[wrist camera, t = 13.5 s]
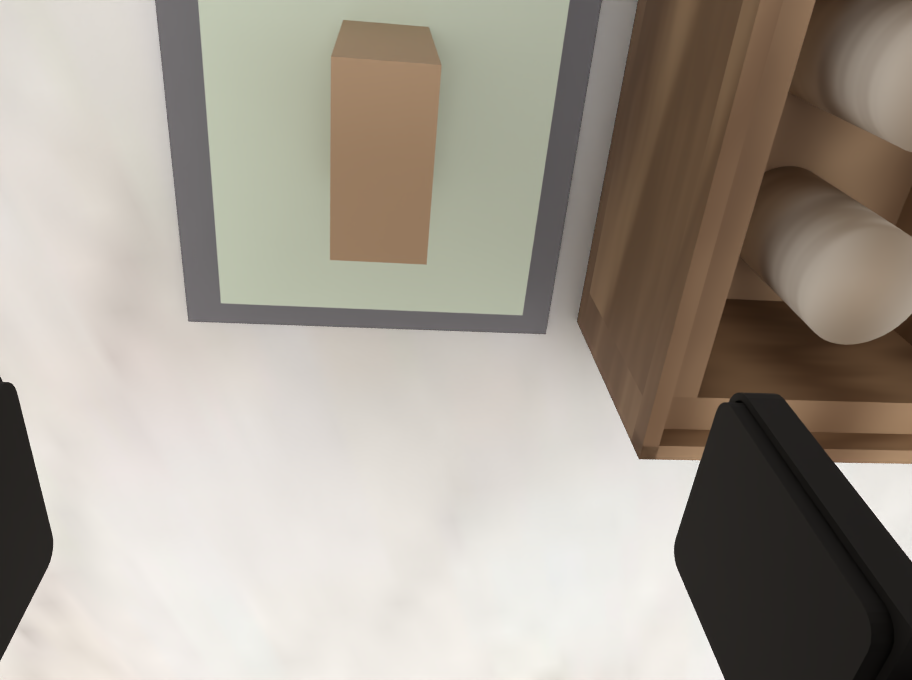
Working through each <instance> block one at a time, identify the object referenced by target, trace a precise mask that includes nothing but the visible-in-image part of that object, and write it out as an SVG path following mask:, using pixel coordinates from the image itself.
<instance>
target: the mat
mask: <svg viewBox="0 0 912 680" xmlns="http://www.w3.org/2000/svg"><path fill="white" fill-rule="evenodd" d="M155 2H156V12H157V22H158V31H159V41H160V51H161V60H162V70H163V80H164V90H165V99H166V109H167V119H168V128H169V138H170V148H171V157H172V167H173V177H174V186H175V196H176V206H177V215H178V225H179V235H180V244H181V254H182V264H183V273H184V283H185V293H186V302H187V312H188V321H191V322H219V323H247V324H276V325H304V326H332V327H360V328H388V329H416V330H444V331H472V332H500V333H528V334H546V329H547V323H548V317H549V311H550V305H551V299H552V293H553V287H554V281H555V275H556V269H557V263H558V257H559V251H560V245H561V240H562V234H563V228H564V222H565V216H566V210H567V204H568V198H569V192H570V186H571V180H572V174H573V168H574V162H575V156H576V150H577V144H578V138H579V132H580V127H581V121H582V115H583V109H584V103H585V97H586V91H587V85H588V79H589V73H590V67H591V61H592V55H593V49H594V43H595V37H596V31H597V25H598V19H599V13H600V8H601V2H602V0H570V2H569V9H568V16H567V22H566V29H565V36H564V42H563V49H562V56H561V62H560V69H559V76H558V82H557V89H556V96H555V102H554V109H553V116H552V122H551V129H550V136H549V142H548V149H547V155H546V162H545V169H544V175H543V182H542V189H541V195H540V202H539V209H538V215H537V222H536V229H535V235H534V242H533V249H532V255H531V262H530V269H529V275H528V282H527V289H526V295H525V302H524V309H523V315H501V314H476V313H451V312H426V311H401V310H376V309H351V308H326V307H300V306H275V305H250V304H225V303H221V297H220V284H219V271H218V258H217V245H216V231H215V218H214V205H213V192H212V179H211V165H210V152H209V139H208V126H207V113H206V99H205V86H204V73H203V60H202V47H201V33H200V20H199V7H198V0H155Z"/></svg>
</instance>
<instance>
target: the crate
mask: <svg viewBox="0 0 912 680" xmlns="http://www.w3.org/2000/svg"><path fill="white" fill-rule="evenodd" d="M577 323H578V325H579V327H580V329H581V331H582V334H583V336H584V338H585V340H586V343H587V345H588V347H589V349H590V351H591V354H592V356H593V358H594V360H595V363H596V365H597V367H598V369H599V371H600V374H601V376H602V378H603V380H604V383H605V385H606V387H607V389H608V391H609V394H610V396H611V398H612V400H613V402H614V405H615V407H616V409H617V411H618V414H619V416H620V418H621V420H622V422H623V425H624V427H625V429H626V431H627V434H628V436H629V438H630V440H631V442H632V445H633V447H634V449H635V451H636V454H637V456H638V458H639V459H662V460H701V458H702V454H703V451H704V448H705V445H706V442H707V439H708V436H709V432H710V429H711V426H712V423H713V420H714V417H715V413H716V411H717V408H718V406H719V405H720V404H721V403H724V402H729V400H730V398H731V397H732V396H733V395H734V394H736V393H738V392H743V393H775V394H779V395H780V396H781V397H783V398H784V399H785V401H786V402H787V403H788V405H789V406H790V407H791V408H792V410H793V411H794V412H795V413H796V415H797V416H798V417H799V419H800V420H801V421H802V422H803V424H804V425H805V426H806V427H807V429H808V430H809V431H810V433H811V434H812V435H813V436H814V438H815V439H816V440H817V442H818V443H819V444H820V445H821V447H822V448H823V449H824V450H825V452H826V453H827V454H828V456H829V457H830V458H831V459H832V461H833V462H841V463H901V464H912V0H638V4H637V10H636V15H635V20H634V25H633V31H632V36H631V41H630V46H629V52H628V57H627V62H626V67H625V73H624V78H623V83H622V88H621V94H620V99H619V104H618V109H617V115H616V120H615V125H614V130H613V136H612V141H611V146H610V151H609V157H608V162H607V167H606V172H605V178H604V183H603V188H602V194H601V199H600V204H599V209H598V215H597V220H596V225H595V230H594V236H593V241H592V246H591V251H590V257H589V262H588V267H587V272H586V278H585V283H584V288H583V293H582V299H581V304H580V309H579V314H578V320H577Z"/></svg>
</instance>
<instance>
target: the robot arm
mask: <svg viewBox="0 0 912 680" xmlns="http://www.w3.org/2000/svg"><path fill="white" fill-rule="evenodd" d="M52 551H53V536H52V532H51V528H50V524H49V520H48V516H47V512H46V507H45V503H44V499H43V495H42V491H41V487H40V483H39V479H38V475H37V471H36V467H35V463H34V459H33V455H32V451H31V447H30V443H29V439H28V435H27V431H26V427H25V423H24V419H23V415H22V411H21V407H20V403H19V399H18V395H17V391H16V389H15V387H14V386H13V384H11V383H9V382H2V379H1V377H0V660H1V658H2V656H3V654H4V652H5V651H6V649H7V647H8V645H9V643H10V641H11V639H12V637H13V635H14V633H15V631H16V629H17V627H18V625H19V623H20V621H21V619H22V617H23V615H24V613H25V611H26V609H27V607H28V605H29V603H30V601H31V599H32V597H33V595H34V593H35V591H36V589H37V587H38V585H39V583H40V582H41V580H42V578H43V576H44V574H45V572H46V570H47V568H48V565H49V563H50V560H51V556H52ZM674 556H675V562H676V566H677V569H678V571H679V573H680V576H681V578H682V580H683V583H684V585H685V587H686V590H687V592H688V594H689V597H690V599H691V601H692V604H693V606H694V608H695V611H696V613H697V615H698V618H699V620H700V622H701V625H702V627H703V629H704V632H705V634H706V636H707V639H708V641H709V643H710V646H711V648H712V650H713V653H714V655H715V657H716V660H717V662H718V664H719V667H720V669H721V671H722V674H723V676H724V679H725V680H912V562H911V560H910V559H909V558H908V556H907V555H906V554H905V553H904V551H903V550H902V549H901V548H900V546H899V545H898V544H897V542H896V541H895V540H894V539H893V537H892V536H891V535H890V533H889V532H888V531H887V530H886V528H885V527H884V526H883V525H882V523H881V522H880V521H879V519H878V518H877V517H876V516H875V514H874V513H873V512H872V510H871V509H870V508H869V507H868V505H867V504H866V503H865V502H864V500H863V499H862V498H861V496H860V495H859V494H858V493H857V491H856V490H855V489H854V488H853V486H852V485H851V484H850V482H849V481H848V480H847V479H846V477H845V476H844V475H843V473H842V472H841V471H840V470H839V468H838V467H837V466H836V465H835V463H834V462H833V461H832V459H831V458H830V457H829V456H828V454H827V453H826V452H825V450H824V449H823V448H822V447H821V445H820V444H819V443H818V442H817V440H816V439H815V438H814V436H813V435H812V434H811V433H810V431H809V430H808V429H807V427H806V426H805V425H804V424H803V422H802V421H801V420H800V419H799V417H798V416H797V415H796V413H795V412H794V411H793V410H792V408H791V407H790V406H789V405H788V403H787V402H786V401H785V399H784V398H783V397H781V396H780V395H779V394H775V393H743V392H738V393H736V394H734V395H733V396H732V397H731V398H730V400H729V402H724V403H721V404H720V405H719V406H718V408H717V411H716V413H715V417H714V420H713V423H712V426H711V429H710V432H709V436H708V439H707V442H706V445H705V448H704V451H703V454H702V458H701V461H700V464H699V467H698V470H697V473H696V477H695V480H694V483H693V486H692V489H691V492H690V495H689V499H688V502H687V505H686V508H685V511H684V514H683V518H682V521H681V524H680V527H679V530H678V533H677V536H676V540H675V545H674Z"/></svg>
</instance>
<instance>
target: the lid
mask: <svg viewBox="0 0 912 680" xmlns="http://www.w3.org/2000/svg"><path fill="white" fill-rule="evenodd" d="M569 2H570V0H198V7H199V20H200V33H201V47H202V60H203V73H204V86H205V99H206V113H207V126H208V139H209V152H210V165H211V179H212V192H213V205H214V218H215V231H216V245H217V258H218V271H219V284H220V297H221V303H225V304H250V305H275V306H300V307H326V308H351V309H376V310H401V311H426V312H451V313H476V314H501V315H523V309H524V302H525V295H526V289H527V282H528V275H529V269H530V262H531V255H532V249H533V242H534V235H535V229H536V222H537V215H538V209H539V202H540V195H541V189H542V182H543V175H544V169H545V162H546V155H547V149H548V142H549V136H550V129H551V122H552V116H553V109H554V102H555V96H556V89H557V82H558V76H559V69H560V62H561V56H562V49H563V42H564V36H565V29H566V22H567V16H568V9H569Z"/></svg>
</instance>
